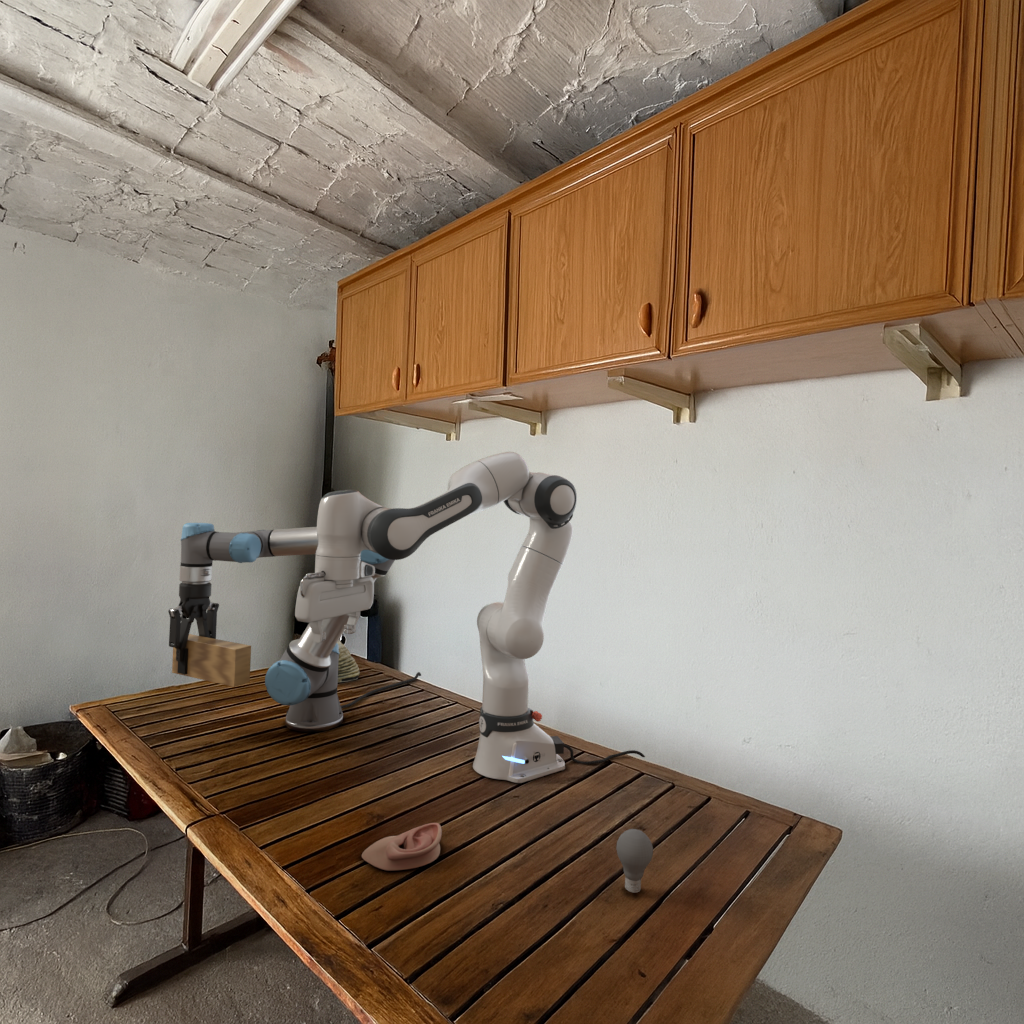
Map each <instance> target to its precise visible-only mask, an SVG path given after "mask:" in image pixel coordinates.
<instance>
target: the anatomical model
mask: <svg viewBox="0 0 1024 1024" xmlns="http://www.w3.org/2000/svg"><path fill="white" fill-rule="evenodd" d="M442 835H443V829H442V826H441V824H440V823H439V822H430V823H425V824H422V825H419V826H417V827H414V828H412V829H410V830H407V831H404V832H402V833H399V834H397V835H389V836H385V837H383V838H381V839H379V840H377V841H375V842H373V843H372V844H370V845H369V846H368V847H367V848H366V849H364V851H362V852H361V853H362V854H361V858H362V859H363V861H365V862H366V863H368V864H370V865H371V866H373V867H375V868H377V869H379V870H384V871H387V872H389V871H390V872H391V871H403V870H412V869H416V868H419V867H423V866H426V865H428V864H431V863H433V862H434V861H435V860H437V859H439V856H440V855H441V844H440V842H441V839H442Z"/></svg>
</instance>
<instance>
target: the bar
mask: <svg viewBox="0 0 1024 1024" xmlns="http://www.w3.org/2000/svg"><path fill="white" fill-rule="evenodd" d="M185 648H187V649H188V669H187V674H180V673H177V671H178V661H176V648H174V647H172V663H171V664H172V665H171V666H172V667H171V673H172V674H176V675H179V676H185V677H189V678H194V679H198V680H202V681H206V682H211V683H216V684H220V685H225V686H229V687H232V688H233V687H234V688H236V687H238V686H242V685H245V684H248V683H250V682H251V660H252V645H249V644H245V643H240V642H234V641H230V640H229V641H228V640H223V639H218V638H216V639H213V638H208V637H202V636H199V635H197V634H191V633H189V636H188V640H187V644H186V647H185Z"/></svg>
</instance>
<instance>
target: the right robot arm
mask: <svg viewBox="0 0 1024 1024" xmlns="http://www.w3.org/2000/svg"><path fill="white" fill-rule="evenodd" d="M577 498H578V496H577V489H576V487H575V485H574V484H573V483H572V482H571V481H570V480H569V479H567V478H565V477H563V476H560V475H556V474H550V473H547V472H534V471H533V472H531V471H530V470H529V466H528V464H527V461H526V460H525V459H524V458H523V456H522V455H520V454H519V453H517V452H514V451H504V452H499V453H495V454H492V455H489V456H485V457H482V458H480V459H478V460H475V461H473V462H471V463H468V464H466V465H464V466H463V467H461V468H460V469H457V470H456V471H455V472H453V473H452V474H450V477H449V479H448V482H447V490H446V491H445V492H444V493H442V494H439V495H438V496H436V497H434V498H432V499H429V500H427V501H425V502H424V503H421V504H419V505H417V506H415V507H410V508H404V507H403V508H401V507H398V508H396V507H393V508H391V507H385V506H384V505H381V504H379V503H376V502H375V501H373V500H370V499H369V498H367V497H366V496H365V495H363V494H362V493H361V492H360V491H359V490H356V489H343V490H342V489H341V490H335V491H329V492H327V493H326V494H324V495H323V496H322V497H321V499H320V500H319V504H318V511H317V518H316V527H317V537H318V547H317V550H316V554H315V559H314V561H315V562H314V572H308V573H306V574H305V575H304V576H303V578H302V579H301V580H300V583H299V586H298V590H297V595H296V600H295V609H294V616H295V619H296V621H297V622H302V623H307V624H309V625H310V627H311V630H312V632H313V641H314V642H317V643H320V642H323V641H325V636H326V633H324V632H322V629H321V625H323V620H324V619H328V618H333V617H337V616H341V615H346V614H348V616H349V619H348V622H347V625H345V626H344V628H345V630H344V632H343V633H344V634H346V635H353V634H355V633H356V627H357V624H358V621H359V620H360V616H361V612H363V611H366V610H370V609H371V607H372V606H373V604H374V595H375V582H374V580H373V578H372V577H371V576H374V574H375V567H374V566H373V565H370V564H367V563H365V562H363V561H360V559H361V551H362V550H370V551H372V552H375V553H377V554H379V555H381V556H382V557H384V558H387V559H390V560H395V561H398V560H404V559H406V558H408V557H410V556H411V555H413V554H414V553H415V552H416V551H417V550H418V549H419V547H421V545H422V544H423V543H424V542H425V541H426V540H427V539H428V538H429V537H431V536H432V535H434V534H436V533H438V532H440V531H441V530H443V529H444V528H447V527H448V526H450V525H452V524H454V523H456V522H458V521H460V520H462V519H464V518H465V517H468V516H471V515H475V514H478V513H482V512H484V511H486V510H488V509H491V508H493V507H496V506H497V505H499V504H501V503H504V505H505V506H506V507H507V508H508V509H509V510H510V511H511V512H513V513H515V514H517V515H521V516H524V517H526V518H529V528H528V532H527V534H526V536H525V538H524V540H523V542H522V544H521V546H520V548H519V550H518V553H517V554H516V557H515V559H514V562H513V563H512V565H511V568H510V569H509V572H508V573H507V574H508V575H507V586H506V592H505V597H504V601H494V602H490V603H489V602H488V603H487V604H486V605H484V606H482V607H481V609H480V610H479V612H478V614H477V618H476V626H477V630H478V634H479V635H478V636H479V648H480V656H481V657H480V658H481V665H482V699H481V701H482V702H481V706H480V709H479V710H480V711H479V718H478V719H479V720H478V729H479V738H478V744H477V747H476V748H477V749H476V753H475V757H474V760H473V763H472V769H473V770H474V771H475V772H476V773H477V774H479V775H481V776H482V777H486V778H490V779H494V780H502V781H508V782H511V783H515V784H522V783H526V782H529V781H532V780H535V779H538V778H542V777H544V776H548V775H552V774H554V773H557V772H560V771H564V770H566V763H565V760H564V759H563V758H562V757H561V756H560V755H563V754H564V753H565V749H567V750H568V751H569V753H570V754H569V755H570V760H571V762H574V764H581V765H589V766H590V765H598V764H603V763H605V762H607V761H609V760H610V759H614V758H617V757H622V756H625V755H629V754H635V755H638V756H640V757H641V758H646V755H645V754H644V753H642V752H641V751H638V750H635V749H634V750H633V749H632V750H630V749H629V750H625V751H621V752H618V753H614V754H611V755H608V756H606V757H605V758H602V759H598V760H589V761H582V760H577V759H576V758H575V757H574V749H573V748H572V747H571V746H570V745H568V744H565V743H564V741H563V740H562V739H561V738H560V736H558V735H549V734H548V733H547V732H545V730H544V729H542V728H541V727H540V726H538V725H537V724H536V723H535V722H534V721H536V722H541V721H542V719H543V714H542V713H540V712H539V711H538V710H533V709H532V708H530V707H529V693H530V692H529V690H530V676H529V672H528V669H527V665H526V660H528V659H531V658H532V657H534V656H535V655H537V654H538V653H539V652H540V650H541V649H542V648H543V644H544V640H545V635H544V634H545V633H544V621H545V618H546V617H545V616H546V612H547V606H548V602H549V599H550V597H551V596H550V595H551V592H552V590H553V588H554V585H555V583H556V581H557V578H558V576H559V574H560V572H561V570H562V567H563V565H564V563H565V561H566V559H567V555H568V553H569V550H570V546H571V542H572V540H573V539H572V538H573V535H574V526H573V524H572V522H571V520H572V518H574V517H573V516H574V512H575V510H576V507H577V500H578V499H577Z"/></svg>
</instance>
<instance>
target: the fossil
mask: <svg viewBox="0 0 1024 1024" xmlns="http://www.w3.org/2000/svg"><path fill="white" fill-rule="evenodd" d="M337 643H338V645H339V662H338V683H347V682H351V681H355V680H358V679H359V677H360V675H361V672H360V668H359V665H358V663H357V662H356V659H355V658H354V657H353V656H352V654H351V652H350V650H349V649H348V648H347V646H346V645H345V644H344V643H342V641H341V640H340V639H339V640H338V642H337Z"/></svg>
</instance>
